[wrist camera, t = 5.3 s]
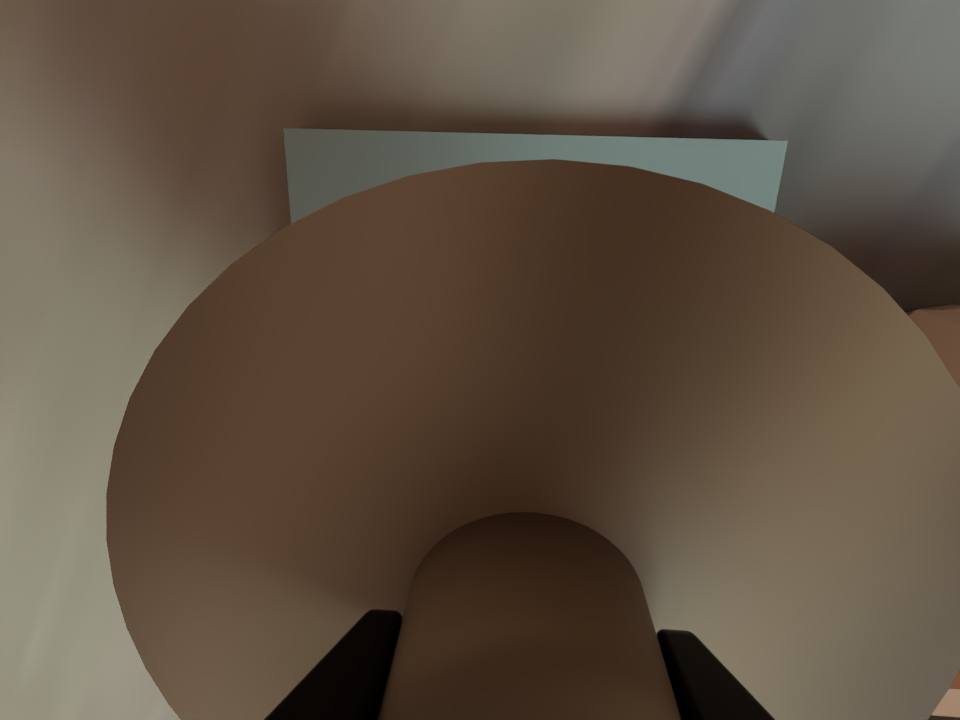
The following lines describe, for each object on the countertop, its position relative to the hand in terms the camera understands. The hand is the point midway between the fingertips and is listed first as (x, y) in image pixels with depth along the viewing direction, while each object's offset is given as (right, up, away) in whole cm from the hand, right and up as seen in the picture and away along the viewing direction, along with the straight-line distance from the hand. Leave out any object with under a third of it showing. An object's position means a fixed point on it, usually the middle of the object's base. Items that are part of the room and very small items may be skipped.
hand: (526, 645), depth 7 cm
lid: (0, 0, +1) cm, 1 cm away
